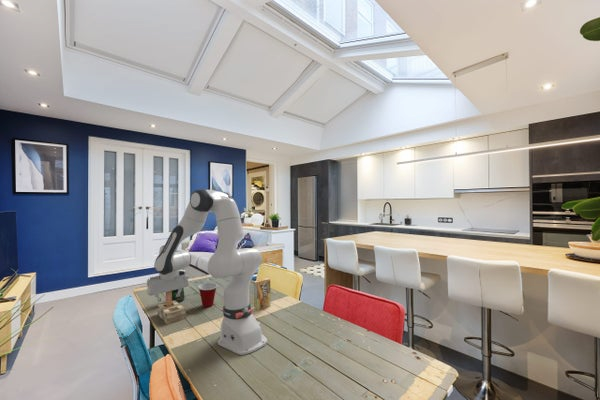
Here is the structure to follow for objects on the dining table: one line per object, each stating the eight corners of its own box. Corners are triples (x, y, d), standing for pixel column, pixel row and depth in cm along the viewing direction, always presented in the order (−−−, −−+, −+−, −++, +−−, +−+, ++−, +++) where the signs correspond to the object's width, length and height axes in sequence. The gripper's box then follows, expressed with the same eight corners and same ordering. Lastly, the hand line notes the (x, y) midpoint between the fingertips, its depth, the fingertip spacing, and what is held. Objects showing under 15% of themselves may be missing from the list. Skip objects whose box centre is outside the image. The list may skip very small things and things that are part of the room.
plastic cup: (204, 311, 142) (204, 289, 142) (194, 306, 149) (194, 286, 149) (221, 304, 151) (221, 284, 151) (211, 300, 158) (210, 281, 158)
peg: (172, 313, 140) (172, 292, 140) (167, 315, 137) (166, 293, 137) (171, 312, 142) (170, 290, 142) (165, 313, 140) (164, 292, 140)
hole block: (185, 318, 134) (185, 308, 134) (167, 324, 128) (167, 314, 128) (175, 309, 146) (175, 300, 146) (157, 314, 139) (157, 305, 139)
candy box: (267, 303, 151) (266, 277, 151) (270, 305, 148) (270, 279, 148) (253, 307, 146) (253, 281, 146) (257, 310, 142) (257, 282, 142)
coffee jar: (172, 305, 151) (171, 274, 151) (164, 302, 155) (164, 272, 155) (187, 299, 159) (186, 270, 159) (179, 297, 163) (179, 268, 164)
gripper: (148, 279, 130) (149, 306, 130) (189, 270, 144) (189, 295, 144) (145, 276, 134) (145, 303, 134) (185, 269, 149) (185, 292, 149)
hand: (168, 299), depth 139 cm, fingers open, 8 cm apart
